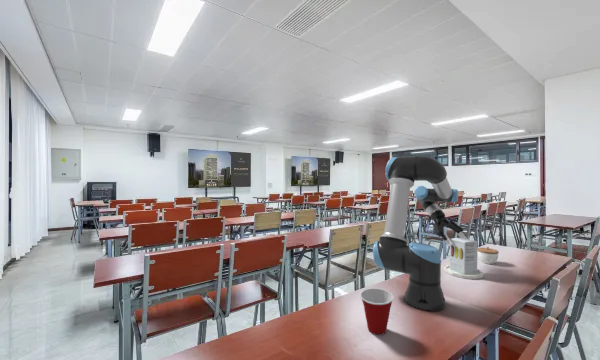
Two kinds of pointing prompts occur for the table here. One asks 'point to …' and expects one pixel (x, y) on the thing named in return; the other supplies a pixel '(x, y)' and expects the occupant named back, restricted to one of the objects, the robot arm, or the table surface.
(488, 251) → the lidded jar
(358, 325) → the table surface
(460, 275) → the dish
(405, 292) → the robot arm
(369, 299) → the plastic cup
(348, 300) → the table surface
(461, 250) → the supplement box
